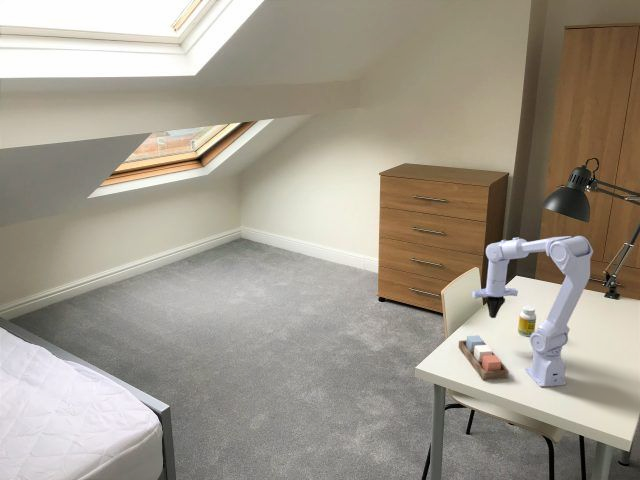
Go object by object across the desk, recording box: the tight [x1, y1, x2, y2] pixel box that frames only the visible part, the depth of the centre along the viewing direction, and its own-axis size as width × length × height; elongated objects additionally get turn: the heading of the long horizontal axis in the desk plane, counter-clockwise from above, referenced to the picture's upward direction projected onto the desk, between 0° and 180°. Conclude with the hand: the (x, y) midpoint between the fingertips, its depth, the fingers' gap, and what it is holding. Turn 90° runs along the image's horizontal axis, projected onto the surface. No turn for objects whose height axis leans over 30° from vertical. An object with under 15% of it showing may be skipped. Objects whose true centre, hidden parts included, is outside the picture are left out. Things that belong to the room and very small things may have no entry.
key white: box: [474, 344, 493, 360], centre depth 166 cm, size 4×4×4 cm
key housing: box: [458, 339, 510, 381], centre depth 166 cm, size 19×8×2 cm, turn 7°
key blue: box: [466, 335, 485, 350], centre depth 171 cm, size 4×4×4 cm
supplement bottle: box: [517, 305, 537, 337], centre depth 183 cm, size 5×5×10 cm
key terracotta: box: [482, 354, 502, 371], centre depth 160 cm, size 4×4×4 cm
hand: (492, 316), depth 174 cm, fingers closed
